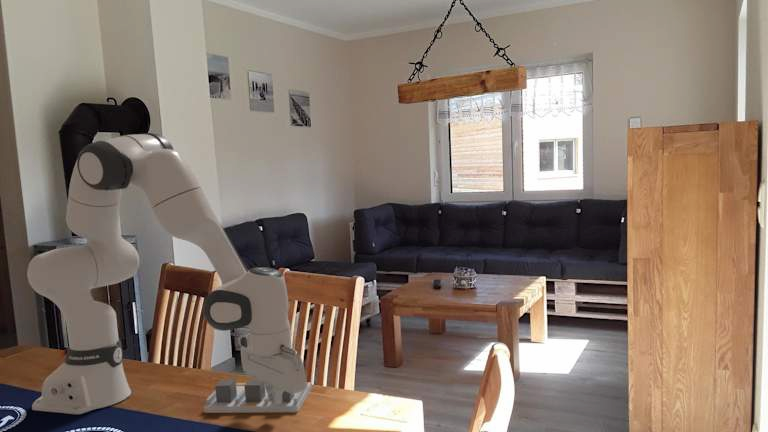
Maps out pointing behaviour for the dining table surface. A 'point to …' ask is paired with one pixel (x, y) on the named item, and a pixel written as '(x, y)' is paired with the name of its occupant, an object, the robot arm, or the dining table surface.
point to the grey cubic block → (254, 391)
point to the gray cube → (226, 391)
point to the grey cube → (287, 397)
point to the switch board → (255, 403)
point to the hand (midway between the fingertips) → (275, 402)
